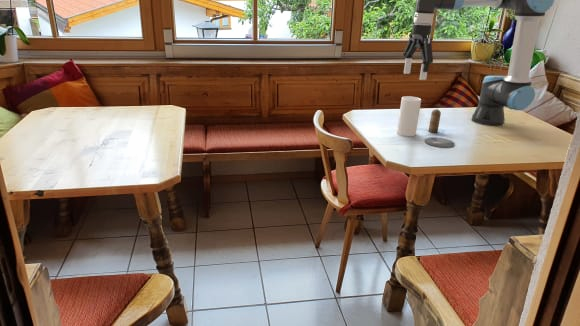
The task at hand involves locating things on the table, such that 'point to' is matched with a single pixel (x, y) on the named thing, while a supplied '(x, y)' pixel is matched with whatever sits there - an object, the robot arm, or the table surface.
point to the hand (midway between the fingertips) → (414, 76)
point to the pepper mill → (434, 121)
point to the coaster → (439, 142)
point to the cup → (408, 116)
